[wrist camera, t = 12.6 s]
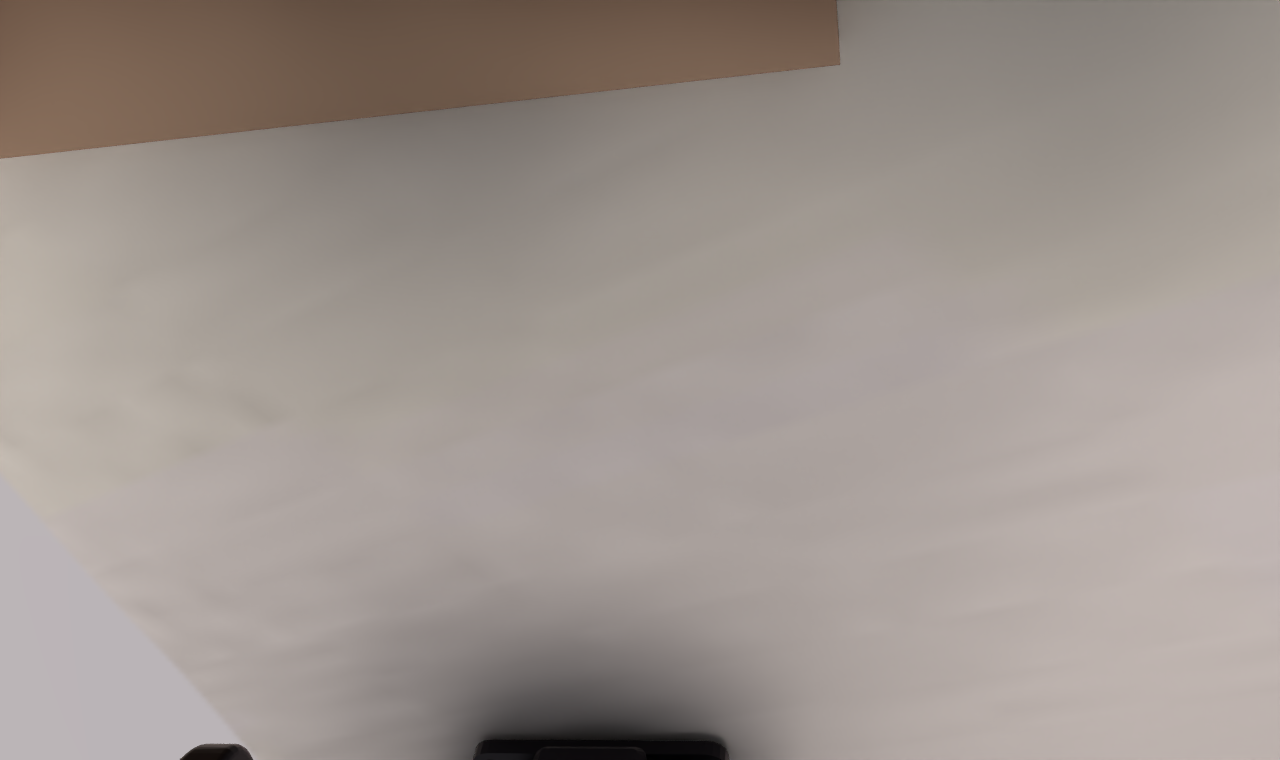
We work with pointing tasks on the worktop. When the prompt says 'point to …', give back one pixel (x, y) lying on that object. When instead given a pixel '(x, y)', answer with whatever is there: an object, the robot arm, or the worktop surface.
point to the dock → (360, 59)
